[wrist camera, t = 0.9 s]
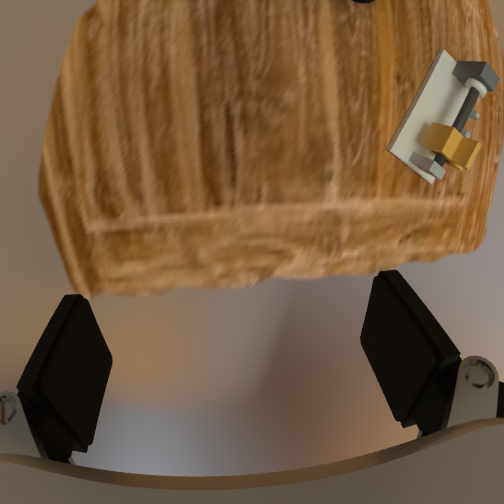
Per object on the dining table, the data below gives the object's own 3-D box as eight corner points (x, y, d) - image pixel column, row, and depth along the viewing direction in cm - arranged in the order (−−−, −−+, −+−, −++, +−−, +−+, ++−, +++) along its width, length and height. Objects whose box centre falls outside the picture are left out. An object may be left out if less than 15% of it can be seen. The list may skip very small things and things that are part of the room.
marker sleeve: (432, 121, 36) (469, 131, 28) (452, 140, 37) (488, 154, 30) (420, 143, 37) (456, 157, 30) (441, 161, 39) (476, 178, 31)
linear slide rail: (440, 48, 33) (473, 46, 26) (476, 87, 36) (509, 92, 29) (386, 149, 41) (415, 162, 34) (427, 181, 44) (457, 198, 37)
